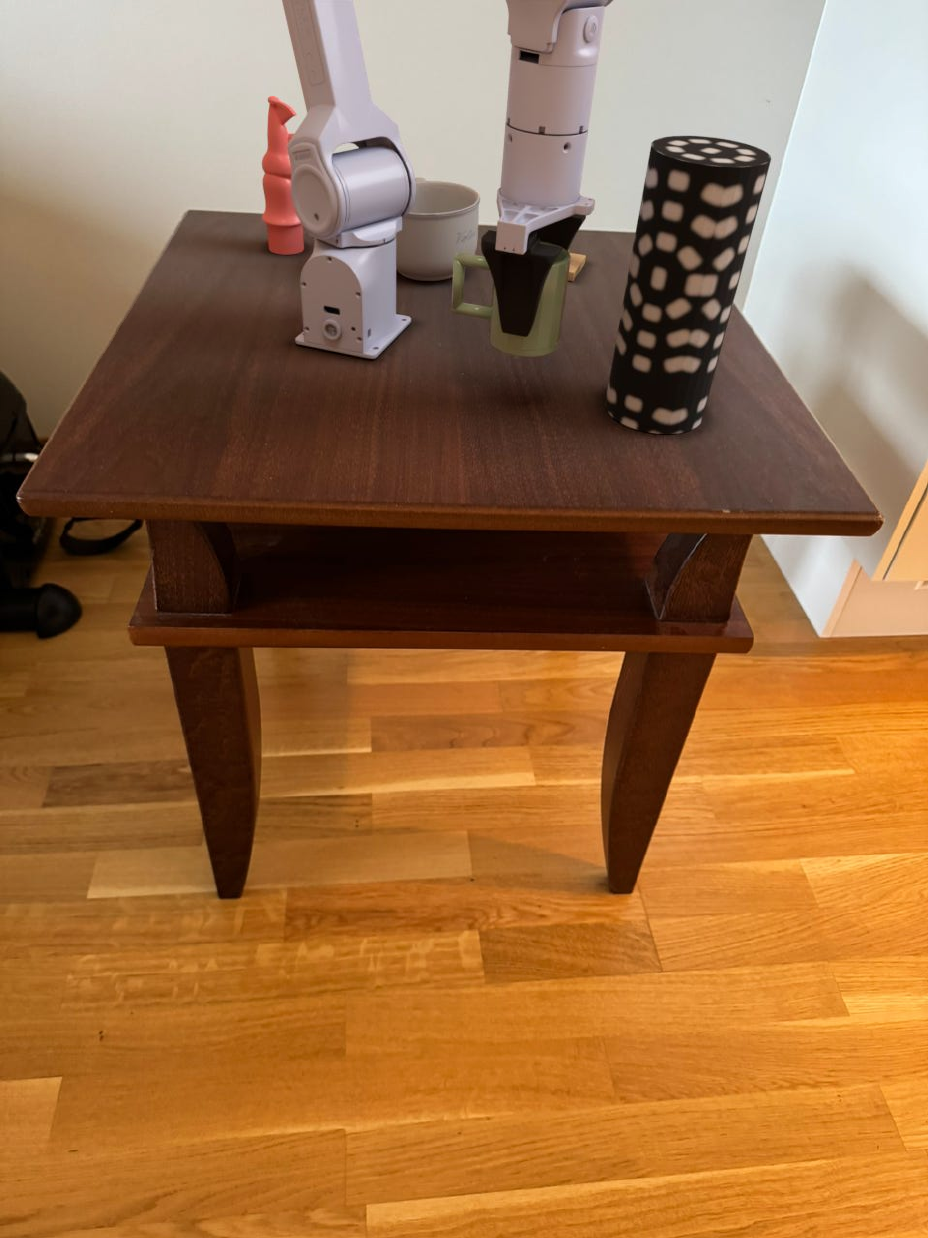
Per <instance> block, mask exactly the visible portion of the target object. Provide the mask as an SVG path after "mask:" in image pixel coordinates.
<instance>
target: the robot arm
mask: <svg viewBox="0 0 928 1238" xmlns="http://www.w3.org/2000/svg"><path fill="white" fill-rule="evenodd" d="M613 1H614V0H505V3H506V6H507V12H508V21H507V35H508V36H510V38H509V39H510V44H511V47H510V48H511V49H510V50H511V51H510V61H509V73H508V74H509V76H508V88H507V101H506V112H505V124H504V137H503V149H502V150H503V151H502V163H501V175H500V185H499V188H498V189H497V192H496V206H497V212H498V218H499V219H498V220H497V221H496V222H497V224H496V230H492V229H488V230H487V231H486V232H485V233H484V234H483V235H482V236H481V241H480V247H481V254H482V256H483V257H485V259H486V261H487V264H488V266H489V268H490V270H489V272H490V274H491V277H492V282H493V281H494V285H495V290H496V296H497V303H498V311H499V318H500V324H501V329H502V332H503V333H507V334H512V335H518V336H523V337H527V336H528V335H529V333H530V331H531V329H532V326H533V323H534V320H535V317H536V313H537V309H538V305H539V301H540V297H541V293H542V290H543V287H544V284H545V281H546V279H547V276H548V274H549V272H550V270H551V268H552V266H553V264H554V262H555V260H556V258H557V257H558V255H559V254H560V252H561V251H562V249H563V248H564V249H566V250H567V251H568V250H569V248H570V249H571V245H572V243H573V241H574V239H575V237H576V235H577V234H578V232H579V230H580V228H581V226H582V225H583V223H584V222H585V220H586V219H587V216H590V215H592V213H593V211H594V210H595V204H596V200H595V199H594V198H593V197H592V198H591V197H587V196H582V195H581V184H582V178H583V172H584V171H583V170H584V162H585V155H586V149H587V140H588V134H589V126H590V120H591V112H592V105H593V98H594V91H595V82H596V75H597V69H598V61H599V53H600V47H601V41H602V40H601V39H602V32H603V25H604V17H605V12H606V11H605V10H606V8H607V7H608V6H609V5H610V4H611V3H612V2H613ZM281 2H282V7H283V10H284V16H285V20H286V24H287V29H288V33H289V38H290V42H291V47H292V51H293V52H292V53H293V57H294V60H295V66H296V69H297V74H298V78H299V82H300V87H301V92H302V94H303V96H302V97H303V100H304V104H305V109H306V115H305V117H304V119H303V121H301V123H300V124H299V126H298V128H297V129H296V131H295V132H294V133H293V134H294V135H293V136H292V138H291V139H290V141H289V143H288V145H287V150H288V154H289V159H290V164H291V198H292V203H293V206H294V209H295V212H296V214H297V216H298V218H299V220H300V222H301V223H302V225H303V228H304V229H305V230H306V231H307V236H309V237H312V238H314V245H313V251H312V253H311V255H310V257H309V258H308V259H307V261H306V262H305V264H304V265H303V267H302V270H301V272H300V275H299V276H300V277H299V279H300V280H299V288H300V300H301V301H300V302H301V315H302V316H301V317H302V328H303V329H302V330H303V331H302V332H300V333H299V334H298V335H297V336H296V337H295V338H294V343H295V344H297V345H299V346H305V347H310V348H314V349H318V350H319V349H320V350H324V351H330V352H334V353H338V354H339V353H340V354H343V355H350V356H353V357H358V358H363V359H369V360H374V359H376V358H378V357H379V356H380V355H381V354H382V353H383V351H385V349H386V348H387V347H388V346H390V345H391V343H392V342H393V341H394V340H396V338H397V337H398V336H399V335H400V334H401V333H402V332H403V331H404V330H405V329H406V328H407V327H408V326H409V325H410V324H411V322H412V318H411V317H410V316H408V315H404V314H400V313H399V314H397V269H396V233H397V232H399V231H401V230H402V218H403V217H405V216H406V215H407V214H408V213H409V212H410V210H411V209H412V207H413V204H414V201H415V195H416V181H415V178H416V175H415V172H414V168H413V166H412V163H411V161H410V159H409V157H408V156H407V155H408V154H406V151H405V150H404V147H403V145H402V142H401V136H400V130H399V126H398V124H397V123H396V121H395V120H393V119H392V118H391V117H390V116H389V115H388V114H387V113H386V112H384V111H383V110H382V109H381V108H380V107H379V106H378V105H377V104H376V103H374V101H373V100H372V94H371V90H370V83H369V79H368V74H367V68H366V63H365V58H364V53H363V48H362V42H361V38H360V32H359V27H358V21H357V17H356V11H355V5H354V1H353V0H281ZM346 144H353V145H355V146H356V147H357V148H353V149H349V150H343V151H339V152H335V151H336V149H337V148H338V147H340V146H342V145H346ZM540 241H542V242H548V243H552V244H555V245H558V246H561V247H557V246H551V245H545V244H540Z"/></svg>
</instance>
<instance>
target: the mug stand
mask: <svg viewBox="0 0 928 1238" xmlns="http://www.w3.org/2000/svg"><path fill="white" fill-rule="evenodd" d="M570 250H571V247H570V248H569V250H568V252H569V253H570V256H571V261H570V268H569V276H568V282H574V281H575V279H576V278H577V276H578V275H579V273H580V272H581V270H582V269H583V267H584V266H585V264H586V259H587V255H585V254H579V253H574V252H570Z"/></svg>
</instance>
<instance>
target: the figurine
mask: <svg viewBox="0 0 928 1238" xmlns="http://www.w3.org/2000/svg"><path fill="white" fill-rule="evenodd" d="M267 103H268V104H269V106H268V113H267V130H266V132H267V133H266V137H267V149H266V152H265V154H264V155H263V157H262V160H261V169H262V171H263V172H264V174H263V177H262V181H261V182H262V189H263V195H264V196H263V197H264V201H265V202H264V203H265V204H264V205H265V206H264V207H265V208H264V212H263V214H262V215H261V221H262V222H263V223H265V224H266V231H267V243H268V250H269V251H270V252H271V253H273V254H276V255H280V256H281V255H282V256H283V255H284V256H289V255H290V256H291V255H296V254H300V253H302V252H303V251H304V250H305V241H304V240H305V239H304V226H303V225H302V223H301V222H300V220H299V218H298V216H297V214H296V212H295V209H294V206H293V203H292V198H291V164H290V159H289V154H288V150H287V145H288V143H289V141H290V139H291V138H292V136H293V135H294V134H295V133H289V131H288V129H287V125H286V124H287V122H289V121H290V120H291V119H292V118H294V117H296V116H297V115H298V114H297V113H296V111H295V110H294V109H293V108H292V107H291V106H290V105H289V104H287V103H285V102H284V101H280V99H279V98H278V97H277V96H275V95H270V96H268V97H267Z"/></svg>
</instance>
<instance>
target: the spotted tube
mask: <svg viewBox="0 0 928 1238" xmlns="http://www.w3.org/2000/svg"><path fill="white" fill-rule="evenodd" d="M771 163H772V156H771V155H770V153H768V152H767V151H765V150H763V149H761V148H760V147H757V146H754V145H751V144H748V143H745V142H741V141H736V140H731V139H726V138H719V137H713V136H702V135H670V136H664V137H659V138H656V139H654V140H653V141H652V142H651V143H650V150H649V155H648V160H647V166H646V172H645V177H644V183H643V189H642V195H641V201H640V206H639V211H638V217H637V221H636V227H635V229H636V230H635V234H634V239H633V244H632V251H631V256H630V261H629V267H628V272H627V278H626V283H625V284H626V285H625V289H624V295H623V301H622V305H621V306H622V307H621V311H620V318H619V324H618V329H617V335H616V340H615V346H614V352H613V357H612V362H611V368H610V373H609V380H608V384H607V390H606V396H605V401H604V406H605V411H606V412H607V413H608V415H609V416H610V417H612V419H614V420H615V421H617V422H618V423H620V424H621V425H624V426H625V427H628V428H631V429H634V430H636V431H641V432H645V433H649V434H657V435H676V434H683V433H687V432H690V431H693V430H694V429H696V428H698V427H699V426H700V425H701V424H702V422H703V419H704V416H705V411H706V408H707V404H708V401H709V397H710V394H711V389H712V386H713V381H714V378H715V373H716V371H717V366H718V363H719V360H720V359H719V358H720V355H721V351H722V348H723V344H724V339H725V336H726V333H727V329H728V328H727V327H728V325H729V321H730V317H731V314H732V309H733V306H734V301H735V298H736V294H737V291H738V286H739V283H740V279H741V276H742V271H743V268H744V264H745V260H746V256H747V254H748V253H747V252H748V248H749V245H750V241H751V238H752V233H753V229H754V226H755V222H756V218H757V215H758V211H759V207H760V204H761V200H762V196H763V192H764V188H765V184H766V180H767V177H768V173H769V169H770V166H771Z"/></svg>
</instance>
